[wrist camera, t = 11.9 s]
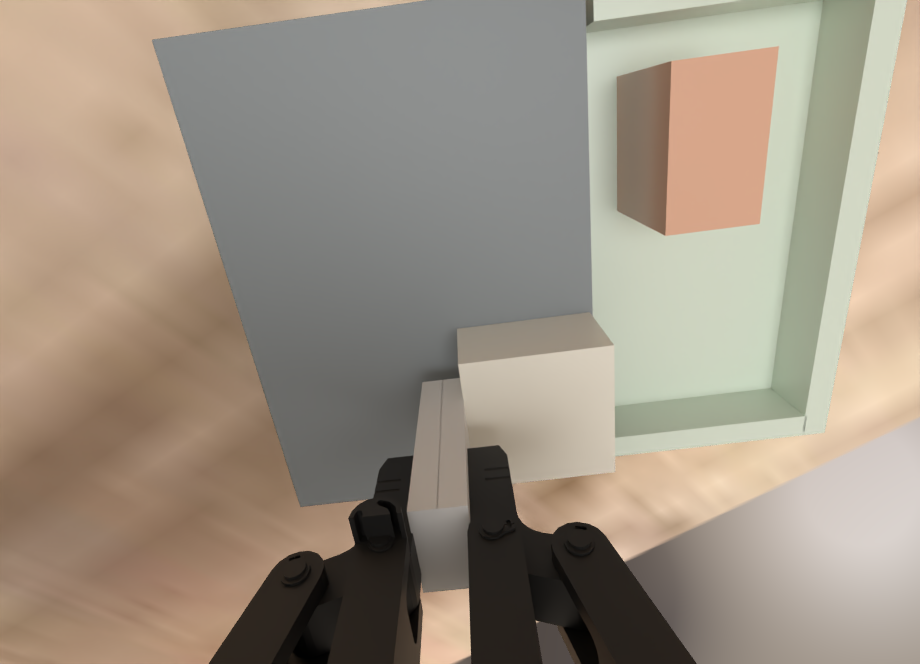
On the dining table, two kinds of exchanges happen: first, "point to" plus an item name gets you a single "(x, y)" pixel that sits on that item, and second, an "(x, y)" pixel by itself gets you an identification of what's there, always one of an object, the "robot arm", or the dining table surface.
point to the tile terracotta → (695, 141)
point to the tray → (745, 247)
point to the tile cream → (541, 394)
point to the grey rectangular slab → (386, 203)
